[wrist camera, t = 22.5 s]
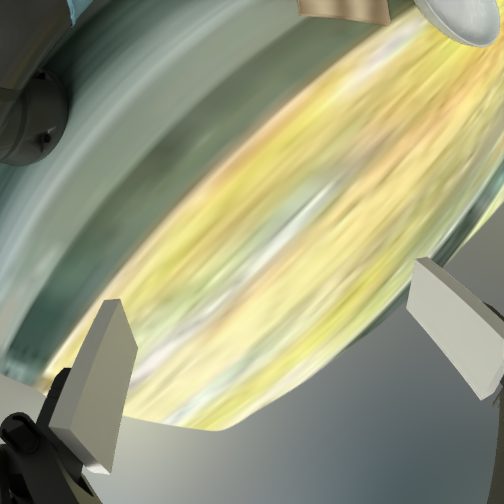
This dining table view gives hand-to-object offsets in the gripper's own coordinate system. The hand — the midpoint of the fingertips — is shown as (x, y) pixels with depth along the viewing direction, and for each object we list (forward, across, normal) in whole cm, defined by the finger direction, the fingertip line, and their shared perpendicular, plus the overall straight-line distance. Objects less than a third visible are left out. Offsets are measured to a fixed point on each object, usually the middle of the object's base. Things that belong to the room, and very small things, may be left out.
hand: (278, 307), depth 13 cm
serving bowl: (+32, +38, +32) cm, 59 cm away
